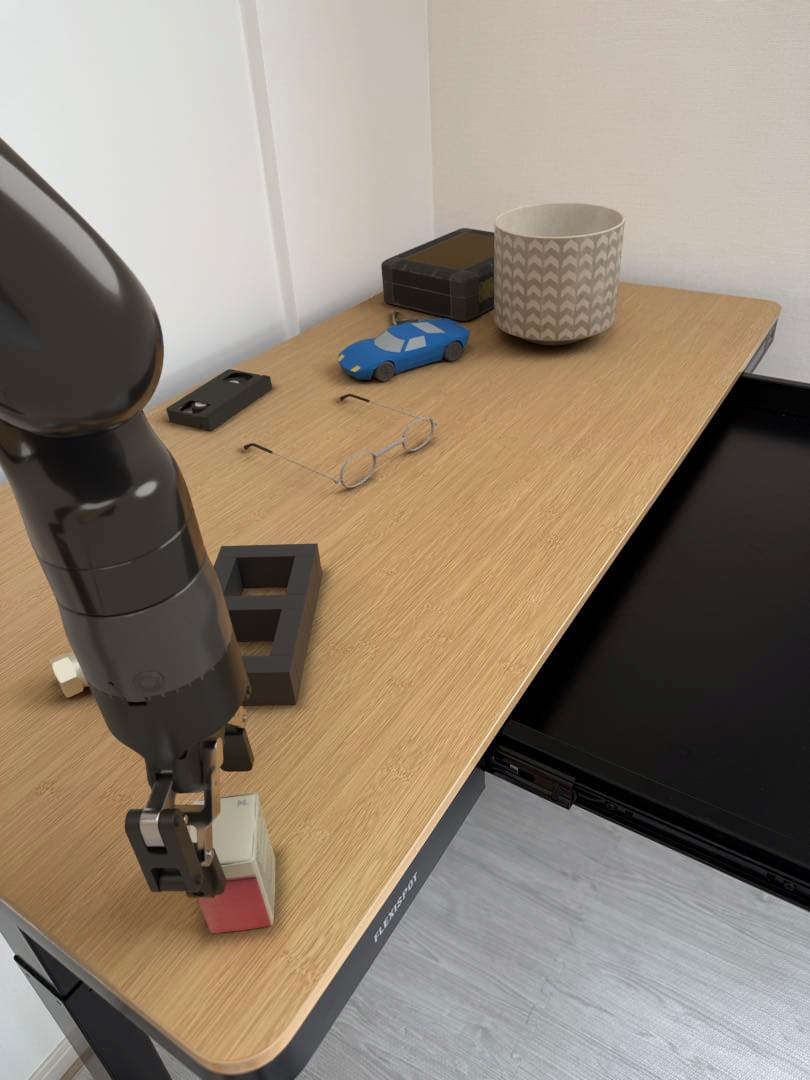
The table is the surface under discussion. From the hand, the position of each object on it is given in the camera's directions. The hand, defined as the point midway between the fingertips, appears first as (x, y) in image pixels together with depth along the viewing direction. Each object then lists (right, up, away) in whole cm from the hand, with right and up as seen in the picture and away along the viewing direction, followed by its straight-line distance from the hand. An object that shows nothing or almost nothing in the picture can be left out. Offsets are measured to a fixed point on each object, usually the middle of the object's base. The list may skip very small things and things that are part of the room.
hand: (224, 824), depth 49 cm
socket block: (-3, +9, +26) cm, 27 cm away
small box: (0, -7, +5) cm, 8 cm away
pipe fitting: (-15, +5, +22) cm, 27 cm away
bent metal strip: (+11, +55, +88) cm, 104 cm away
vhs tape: (-15, +37, +66) cm, 78 cm away
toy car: (+11, +45, +74) cm, 87 cm away
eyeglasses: (+3, +30, +54) cm, 62 cm away
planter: (+35, +51, +79) cm, 100 cm away
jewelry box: (+22, +64, +98) cm, 119 cm away
